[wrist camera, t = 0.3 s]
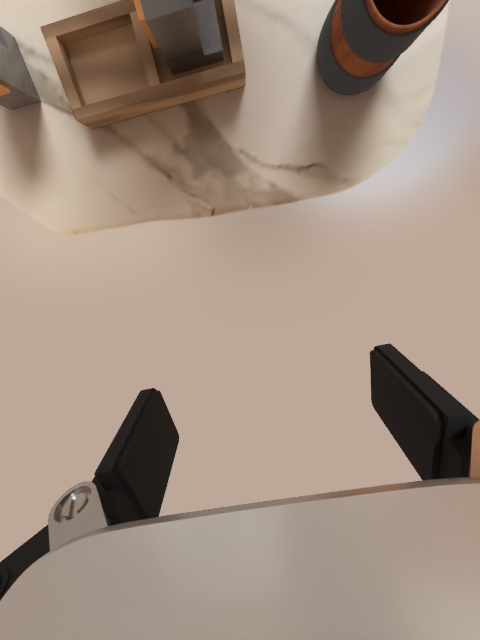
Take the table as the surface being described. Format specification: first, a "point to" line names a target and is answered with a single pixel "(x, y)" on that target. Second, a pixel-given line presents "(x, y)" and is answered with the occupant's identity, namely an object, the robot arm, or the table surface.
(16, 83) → the finger
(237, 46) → the wooden divided tray
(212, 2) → the twin finger
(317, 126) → the table surface
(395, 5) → the mug
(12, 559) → the robot arm
